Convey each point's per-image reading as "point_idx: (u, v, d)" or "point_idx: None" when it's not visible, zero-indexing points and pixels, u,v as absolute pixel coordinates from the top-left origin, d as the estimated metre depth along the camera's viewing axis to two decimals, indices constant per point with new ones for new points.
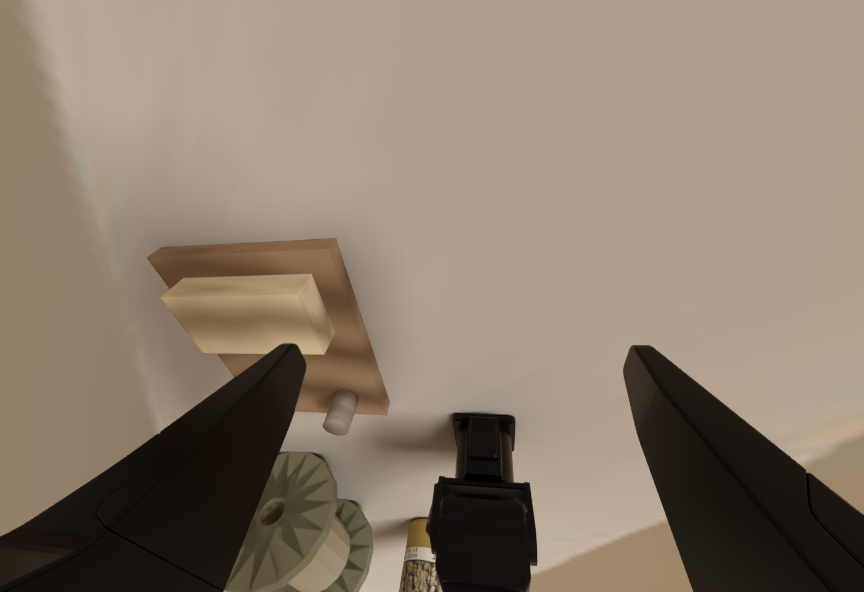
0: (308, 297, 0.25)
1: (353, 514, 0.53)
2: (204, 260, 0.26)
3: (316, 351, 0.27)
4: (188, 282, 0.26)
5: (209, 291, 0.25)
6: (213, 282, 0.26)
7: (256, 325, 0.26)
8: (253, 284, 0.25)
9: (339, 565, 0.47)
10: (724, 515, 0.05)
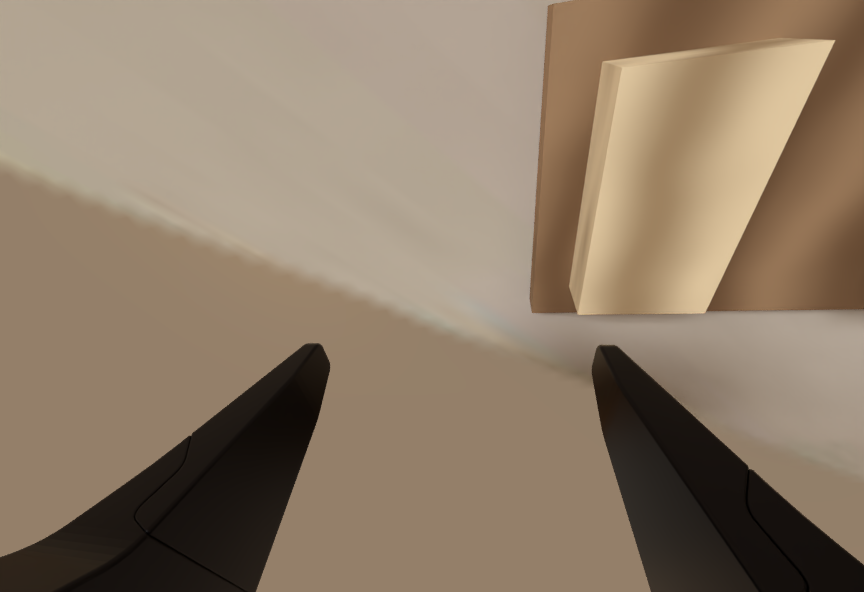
0: (646, 60, 0.12)
1: None
2: (545, 245, 0.19)
3: (812, 62, 0.11)
4: (573, 279, 0.19)
5: (585, 248, 0.16)
6: (579, 244, 0.17)
7: (674, 190, 0.14)
8: (592, 175, 0.15)
9: None
10: (671, 511, 0.06)
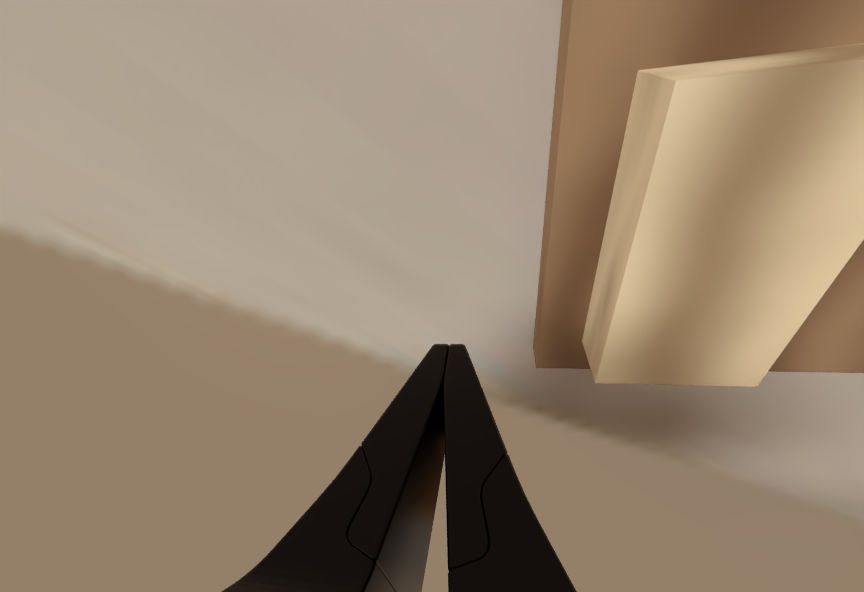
0: (706, 70, 0.08)
1: None
2: (554, 295, 0.15)
3: None
4: (588, 336, 0.15)
5: (608, 307, 0.13)
6: (597, 297, 0.14)
7: (734, 244, 0.10)
8: (620, 219, 0.11)
9: None
10: None
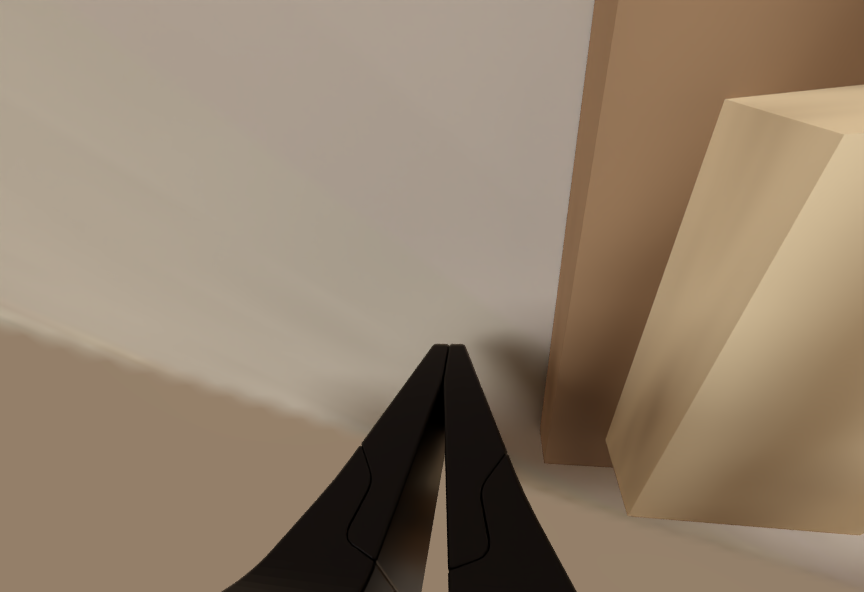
0: None
1: None
2: (571, 390, 0.11)
3: None
4: (616, 442, 0.11)
5: (652, 433, 0.09)
6: (633, 404, 0.10)
7: None
8: (679, 321, 0.07)
9: None
10: None
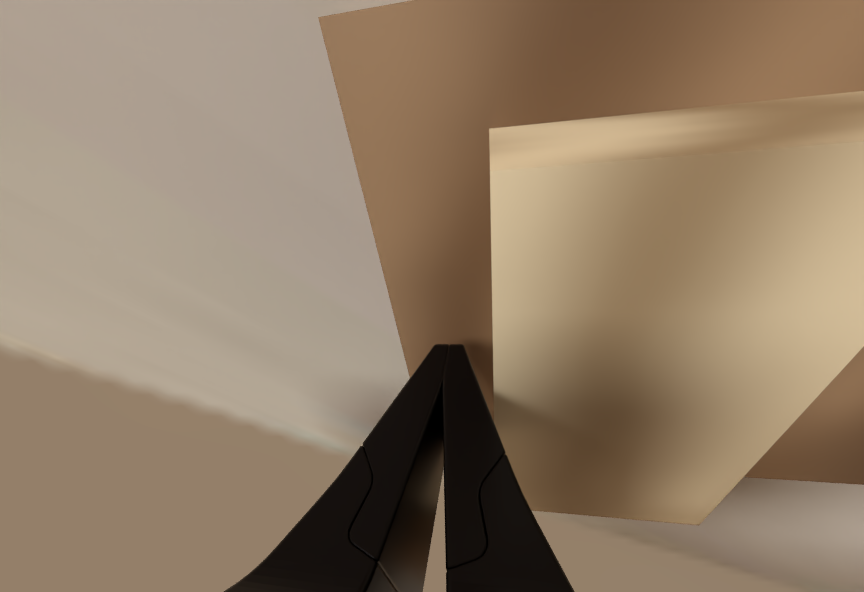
0: (562, 143, 0.05)
1: None
2: None
3: None
4: None
5: None
6: None
7: (636, 383, 0.07)
8: None
9: None
10: None
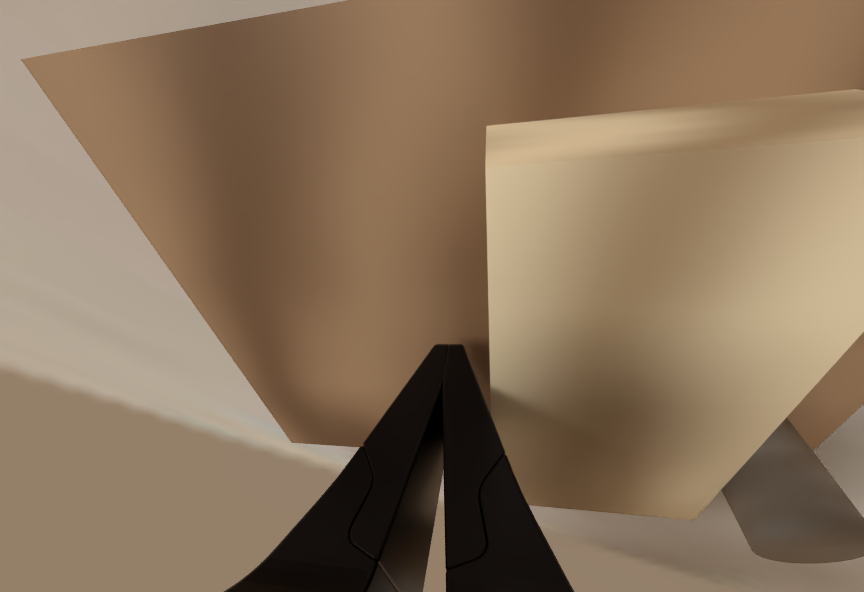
0: (557, 140, 0.05)
1: None
2: (256, 377, 0.13)
3: None
4: None
5: None
6: None
7: (631, 378, 0.07)
8: None
9: None
10: None
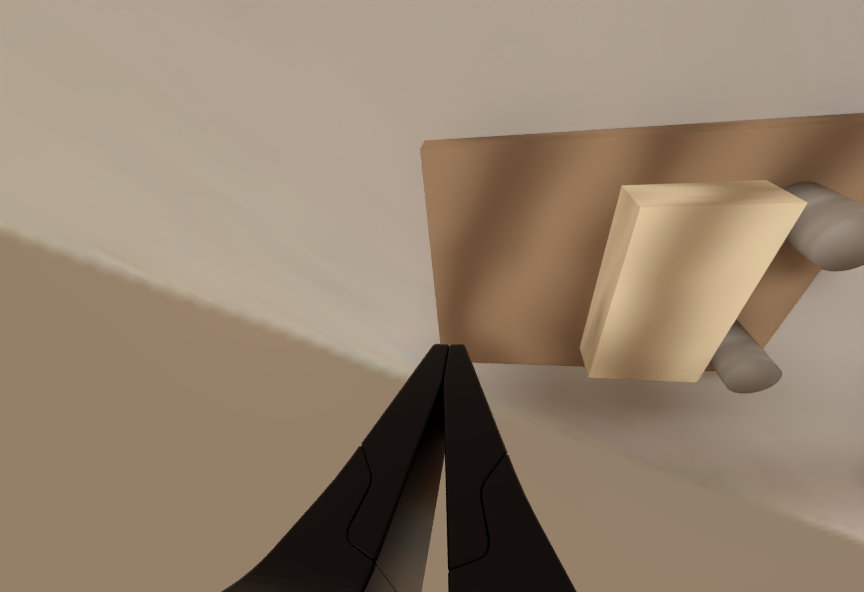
0: (659, 196, 0.15)
1: None
2: (444, 312, 0.22)
3: (789, 215, 0.14)
4: (584, 344, 0.22)
5: (598, 326, 0.19)
6: (592, 318, 0.20)
7: (677, 293, 0.16)
8: (608, 271, 0.18)
9: None
10: None
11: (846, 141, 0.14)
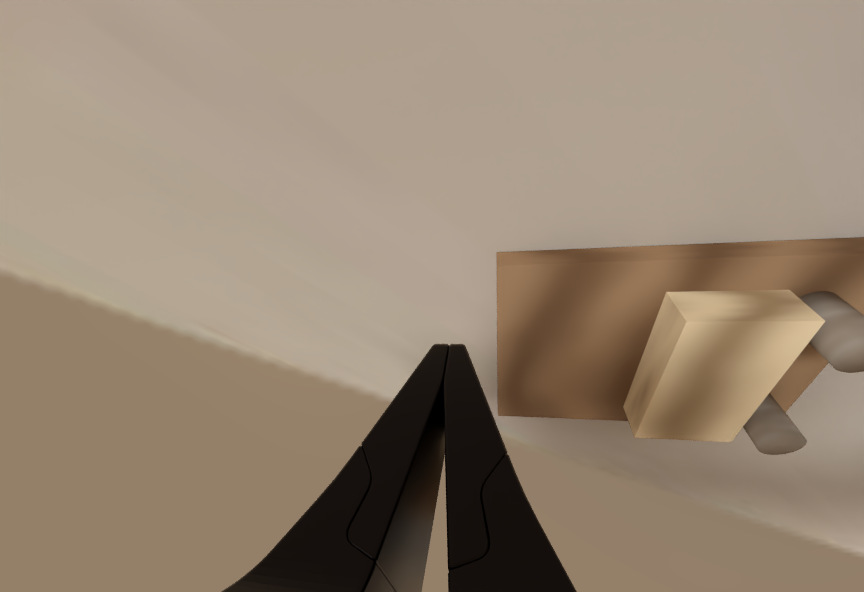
0: (700, 307, 0.18)
1: None
2: (504, 378, 0.26)
3: (810, 329, 0.17)
4: (628, 406, 0.25)
5: (645, 398, 0.22)
6: (637, 388, 0.23)
7: (715, 378, 0.20)
8: (654, 356, 0.21)
9: None
10: None
11: (856, 265, 0.17)
